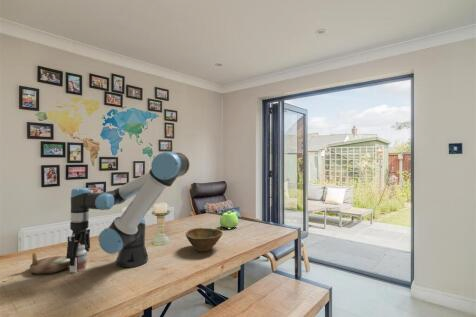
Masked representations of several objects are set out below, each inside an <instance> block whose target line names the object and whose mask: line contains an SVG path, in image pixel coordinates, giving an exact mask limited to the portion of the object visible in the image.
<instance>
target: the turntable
mask: <svg viewBox="0 0 476 317" xmlns="http://www.w3.org/2000/svg"><path fill="white" fill-rule="evenodd" d="M31 256H32V257H31V258H32V259H31V260H32V262H31V264H30V265H29V271H30V272H31V273H32V274H38V275H44V274H43V273H50V274H52V273H51V272H54V273H56V272H55V271H58V272H60V271H59V270H61V271H62V269H63V270H65V269H67V268H68V267H70V259H66V256H67V255H66V256H65V255H57V256H50V257H45V258H42V259H39V260H38V252H33V253H32V255H31Z"/></svg>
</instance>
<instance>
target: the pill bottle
mask: <svg viewBox="0 0 476 317" xmlns="http://www.w3.org/2000/svg"><path fill="white" fill-rule="evenodd" d="M86 255H87V256H88V251H86V250H85V245H83V244H80V243H79V245H78V250H77V254H76V258H77V272H81V271H84V270H86V268H87V265H86Z"/></svg>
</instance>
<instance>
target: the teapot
mask: <svg viewBox="0 0 476 317" xmlns="http://www.w3.org/2000/svg"><path fill="white" fill-rule="evenodd" d="M219 218H220V220H219V224H220V226H221V228H222V227H225V228H227V229H228V228H231V229H232V228H233V227H237V226H238V224H239V216H238V212H237V211H236V212H232V211H231V210H227V212H224V213H222V215H221V216H219Z"/></svg>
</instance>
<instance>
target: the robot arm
mask: <svg viewBox="0 0 476 317" xmlns="http://www.w3.org/2000/svg"><path fill="white" fill-rule="evenodd" d="M150 166H151V168H150V170H149V171H148V172H145V174H142V175H140V176H139V177H136V178H135V179H132V180H131V181H129V182H127V183H125V184H123V185H120V186H119V187H117V188H115V189H113V190H108V191H104V192H91V191H90V188H88V187H76V188H75V187H74V188H72V189H71V194H70V222H69V228H70V229H69V230H71V231H72V233H71V235H70V236H67V247H66V248H67V249H66V259H70V266H69V273H77V272H78V271H77V258H76V254H77V250H78V245H80V244H83V245H85V250H86V251H87V252H90V248H91V240H90V239H91V238H90V232H91V229H89V224H90V223H89V219H90V217H89V216H90V210H99V211H104V210H105V211H108V210H111V209H112V208H113V206H116V205H120V204H121V205H122V204H123V203H125V202H126V201H128V200H129V199H131V198H133V199H132V201H131V202H130V203H129V205H128V206H127V207H126V209H125V210H124V212H122V214H121V215H120V216H116V217H115V218H114V220H113V221H112V222H111V224H110V225H109V226H108V227H107V228H104V229H103V230H101V232H100V233H99V235H98V242H99V246H100V248H101V250H103V251H104V252H105V253H107V254H111V255H114V254H116V253H118V254H117V257H116V261H115V262H116V265H117V266H118V267H121V268H135V267H139V266H143V265H145V264H147V262H148V260H149V254H148V252H147V249H146V245H145V244H146V241H145V240H146V225H147V224H146V219H145V216H146V214H148V212H149V211H150V209H151V208H152V207H153V205H154V204H155V203H156V201H157V200H158V199H159V197H160V196H161V195H162V193H164V192H163V191H164V190H165V189H166V188H170V187H172V185H173V184H174V183H175V181H176V180H177V179H178V177H179V178H180V177H182V176H185V175H186V174H187V172H188V171H189V170H190V160H189V158H188V157H187V156H186V154H183V153H182V152H172V151H165V152H161V153H158V154H157V155H156V156H155V157H154V158H153V159H152V161H151V165H150ZM87 257H88V254H87V255H86V266H87V263H88V261H87V260H88V258H87Z"/></svg>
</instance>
